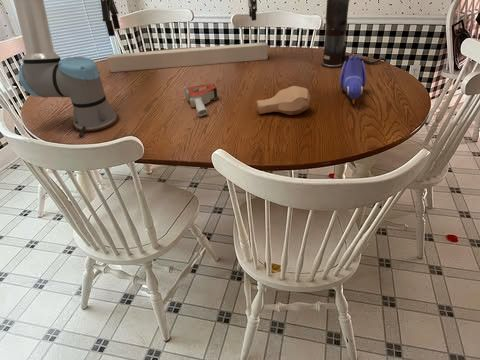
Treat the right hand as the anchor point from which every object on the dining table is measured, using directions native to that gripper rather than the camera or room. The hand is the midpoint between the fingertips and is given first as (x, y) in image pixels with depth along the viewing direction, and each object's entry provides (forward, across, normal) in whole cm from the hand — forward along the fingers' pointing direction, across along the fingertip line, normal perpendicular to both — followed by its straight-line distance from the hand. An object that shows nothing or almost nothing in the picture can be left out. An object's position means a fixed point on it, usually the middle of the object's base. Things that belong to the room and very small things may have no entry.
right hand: (252, 18), depth 173 cm
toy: (+20, -57, -32) cm, 68 cm away
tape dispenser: (+20, -52, +28) cm, 62 cm away
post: (+20, 0, +33) cm, 38 cm away
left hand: (+1, 0, +67) cm, 67 cm away
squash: (+20, -65, -3) cm, 68 cm away
